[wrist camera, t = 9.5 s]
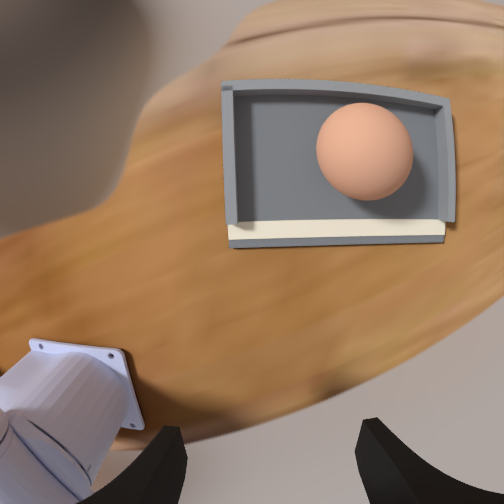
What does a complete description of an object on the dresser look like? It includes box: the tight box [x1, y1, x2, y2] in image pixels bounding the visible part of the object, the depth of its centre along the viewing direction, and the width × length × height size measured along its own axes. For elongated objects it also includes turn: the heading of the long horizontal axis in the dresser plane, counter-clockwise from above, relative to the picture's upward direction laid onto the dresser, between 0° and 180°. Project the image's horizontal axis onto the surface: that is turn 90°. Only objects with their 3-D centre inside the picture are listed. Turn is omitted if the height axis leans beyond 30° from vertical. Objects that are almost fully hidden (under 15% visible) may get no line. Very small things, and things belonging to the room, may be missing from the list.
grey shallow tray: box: [221, 79, 456, 248], centre depth 16 cm, size 14×9×2 cm
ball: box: [316, 103, 413, 201], centre depth 14 cm, size 5×5×5 cm
